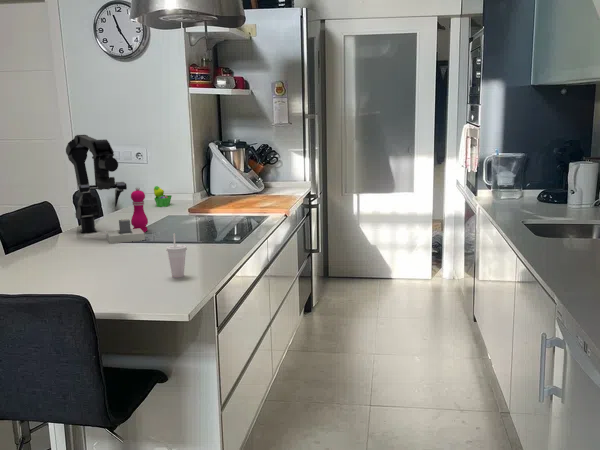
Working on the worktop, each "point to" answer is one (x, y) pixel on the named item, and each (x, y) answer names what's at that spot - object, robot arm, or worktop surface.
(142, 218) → the pepper mill
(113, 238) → the socket plate
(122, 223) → the plug
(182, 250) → the smoothie
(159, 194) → the fruit basket
